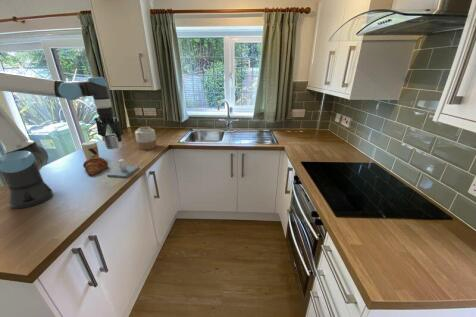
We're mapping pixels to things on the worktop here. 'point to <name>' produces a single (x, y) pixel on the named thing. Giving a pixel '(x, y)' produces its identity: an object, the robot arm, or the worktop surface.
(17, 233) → the worktop surface
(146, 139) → the vase
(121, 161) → the shaft block
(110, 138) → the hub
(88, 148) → the coffee cup
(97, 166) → the pastry
